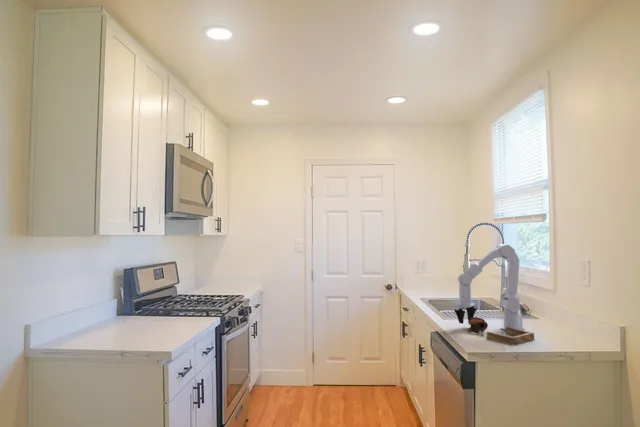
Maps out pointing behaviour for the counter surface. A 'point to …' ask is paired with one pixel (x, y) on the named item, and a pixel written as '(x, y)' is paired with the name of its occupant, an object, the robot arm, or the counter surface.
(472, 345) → the counter surface
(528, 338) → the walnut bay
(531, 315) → the counter surface
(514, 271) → the robot arm
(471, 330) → the pottery mug
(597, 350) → the counter surface
